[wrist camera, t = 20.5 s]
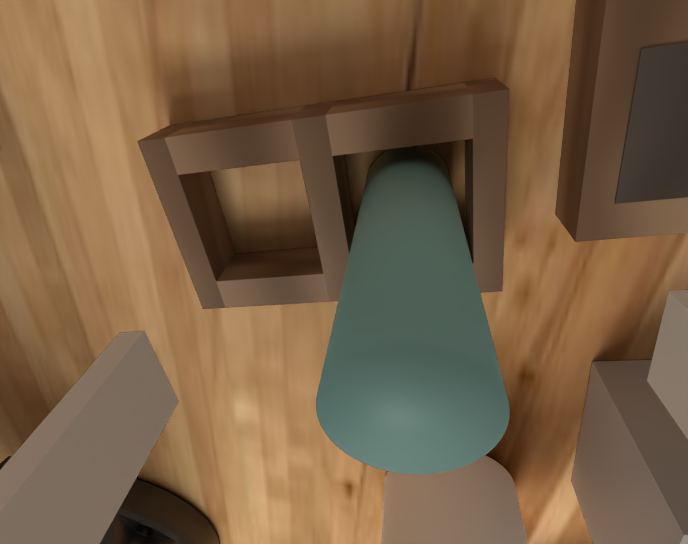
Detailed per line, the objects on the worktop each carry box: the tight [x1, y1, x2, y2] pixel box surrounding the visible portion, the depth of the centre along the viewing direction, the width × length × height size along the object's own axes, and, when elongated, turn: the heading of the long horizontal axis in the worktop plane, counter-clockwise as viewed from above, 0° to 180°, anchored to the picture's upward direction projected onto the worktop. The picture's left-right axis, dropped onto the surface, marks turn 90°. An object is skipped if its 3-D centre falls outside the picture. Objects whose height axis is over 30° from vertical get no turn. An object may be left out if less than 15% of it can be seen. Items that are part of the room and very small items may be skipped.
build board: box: [137, 78, 509, 309], centre depth 18 cm, size 13×8×2 cm, turn 99°
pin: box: [316, 146, 510, 474], centre depth 13 cm, size 4×4×12 cm
